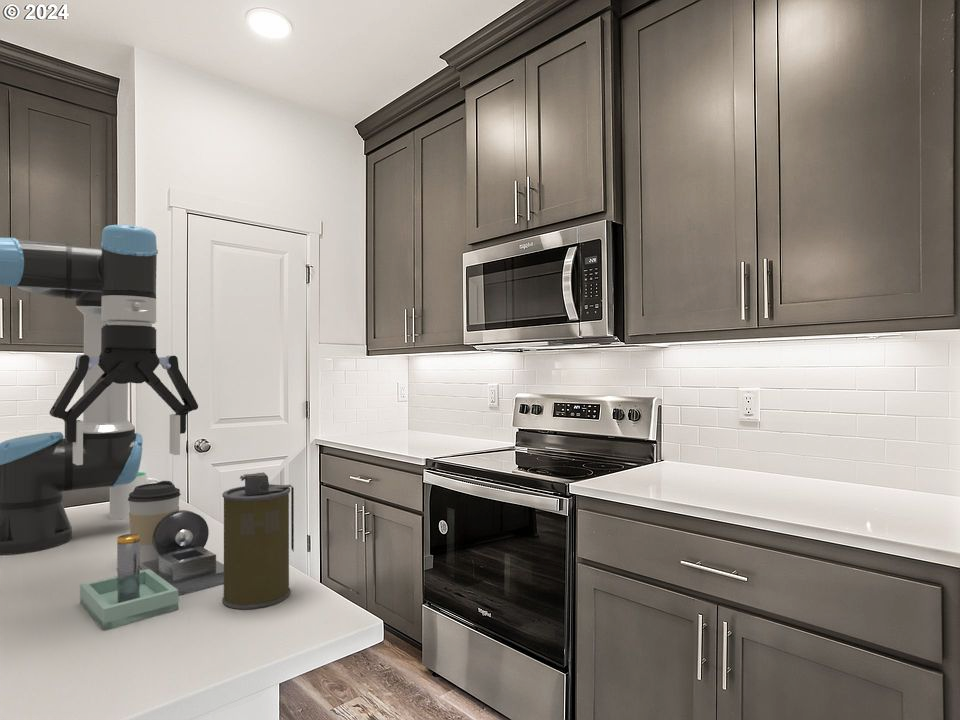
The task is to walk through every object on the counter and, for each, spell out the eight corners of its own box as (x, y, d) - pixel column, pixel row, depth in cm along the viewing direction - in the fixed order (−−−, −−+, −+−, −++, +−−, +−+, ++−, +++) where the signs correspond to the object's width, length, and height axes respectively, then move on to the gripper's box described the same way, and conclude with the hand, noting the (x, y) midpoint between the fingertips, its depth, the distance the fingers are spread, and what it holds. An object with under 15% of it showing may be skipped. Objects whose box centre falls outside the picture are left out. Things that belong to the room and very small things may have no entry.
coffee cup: (157, 570, 109) (157, 489, 109) (115, 567, 110) (116, 487, 111) (190, 555, 117) (190, 480, 118) (151, 552, 119) (151, 478, 120)
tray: (80, 603, 93) (80, 584, 94) (149, 586, 101) (149, 568, 101) (103, 630, 84) (103, 609, 84) (178, 609, 91) (178, 590, 91)
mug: (157, 507, 158) (157, 469, 158) (167, 512, 152) (167, 472, 153) (106, 515, 150) (106, 475, 150) (114, 521, 144) (114, 479, 144)
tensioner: (141, 573, 107) (141, 513, 107) (198, 560, 114) (198, 504, 114) (171, 597, 96) (171, 529, 96) (232, 581, 103) (232, 518, 103)
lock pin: (115, 599, 92) (114, 536, 92) (136, 594, 94) (136, 532, 94) (120, 605, 90) (120, 540, 90) (142, 599, 92) (142, 536, 92)
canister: (224, 614, 89) (224, 482, 89) (220, 591, 98) (220, 472, 98) (298, 601, 94) (298, 476, 94) (287, 580, 103) (287, 466, 103)
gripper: (36, 319, 81) (35, 472, 81) (218, 327, 99) (218, 452, 99) (26, 322, 86) (26, 465, 86) (201, 329, 104) (201, 447, 104)
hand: (128, 458), depth 93 cm, fingers open, 13 cm apart
